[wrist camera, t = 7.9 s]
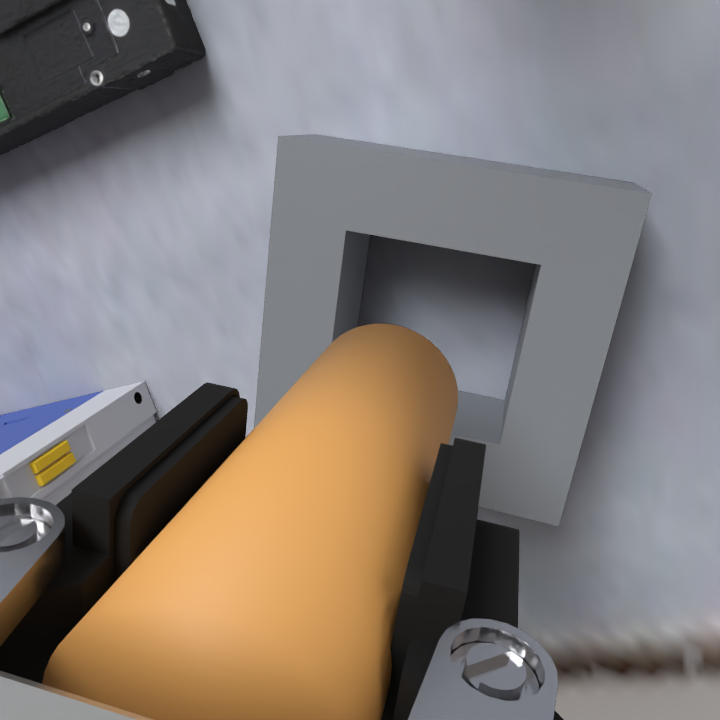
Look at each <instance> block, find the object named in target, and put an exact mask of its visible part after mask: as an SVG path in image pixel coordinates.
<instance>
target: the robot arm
mask: <svg viewBox="0 0 720 720" xmlns="http://www.w3.org/2000/svg"><path fill="white" fill-rule="evenodd" d="M247 410H248V404H247V400H246V399H243V398H240V396H239V392H238V390H237V389H234V388H230V387H225V386H221V385H216V384H212V383H205V384H203V385H202V386H201V387H200V388H198V389H197V390H196V391H195V392H193V393H192V394H191V395H190V396H188V397H187V398H186V399H185V400H183V401H182V402H181V403H180V404H178V405H177V406H176V407H175V408H173V409H172V410H171V411H170V412H168V413H167V414H166V415H165V416H163V417H162V418H161V419H160V420H158V421H157V422H156V423H155V424H153V425H152V426H151V427H149V428H148V429H147V430H146V431H144V432H143V433H142V434H141V435H139V436H138V437H137V438H136V439H134V440H133V441H132V442H131V443H129V444H128V445H127V446H126V447H124V448H123V449H122V450H121V451H119V452H118V453H117V454H116V455H114V456H113V457H112V458H111V459H109V460H108V461H107V462H106V463H104V464H103V465H102V466H101V467H99V468H98V469H97V470H95V471H94V472H93V473H92V474H90V475H89V476H88V477H87V478H85V479H84V480H83V481H82V482H80V483H79V484H78V485H77V486H75V487H74V488H73V489H72V492H71V493H70V494H69V495H68V496H66V497H65V498H64V499H63V500H61V501H60V502H59V503H58V504H56V505H54V504H52V503H50V502H48V501H44V500H41V499H37V498H26V497H15V498H3V499H0V720H154V719H151V718H148V717H144V716H141V715H138V714H135V713H132V712H129V711H126V710H123V709H119V708H116V707H113V706H110V705H107V704H104V703H101V702H97V701H94V700H91V699H88V698H85V697H82V696H78V695H75V694H72V693H69V692H66V691H63V690H60V689H56V688H53V687H50V686H47V685H44V684H42V682H43V677H44V672H45V669H46V667H47V664H48V662H49V659H50V657H51V656H52V654H53V653H54V651H55V649H56V648H57V646H58V645H59V644H60V643H61V641H62V640H63V639H64V638H65V637H66V636H67V635H68V634H69V633H70V632H71V630H72V629H73V628H74V627H75V626H76V625H77V624H78V623H79V622H80V620H81V619H82V618H83V617H84V616H85V615H86V614H87V613H88V612H89V611H90V609H91V608H92V607H93V606H94V605H95V604H96V603H97V602H98V601H99V599H100V598H101V597H102V596H103V595H104V594H105V593H106V592H107V591H108V590H109V588H110V587H111V586H112V585H113V584H114V583H115V582H116V581H117V580H118V578H119V577H120V576H121V575H122V574H123V573H124V572H125V571H126V570H127V569H128V567H129V566H130V565H131V564H132V563H133V562H134V561H135V560H136V559H137V557H138V556H139V555H140V554H141V553H142V552H143V551H144V550H145V549H146V548H147V546H148V545H149V544H150V543H151V542H152V541H153V540H154V539H155V538H156V536H157V535H158V534H159V533H160V532H161V531H162V530H163V529H164V528H165V526H166V525H167V524H168V523H169V522H170V521H171V520H172V519H173V518H174V517H175V515H176V514H177V513H178V512H179V511H180V510H181V509H182V508H183V507H184V505H185V504H186V503H187V502H188V501H189V500H190V499H191V498H192V497H193V496H194V494H195V493H196V492H197V491H198V490H199V489H200V488H201V487H202V486H203V484H204V483H205V482H206V481H207V480H208V479H209V478H210V477H211V476H212V475H213V473H214V472H215V471H216V470H217V469H218V468H219V467H220V466H221V465H222V463H223V462H224V461H225V460H226V459H227V458H228V457H229V456H230V455H231V454H232V452H233V451H234V450H235V449H236V448H237V447H238V446H239V445H240V444H241V442H242V441H243V440H244V439H245V435H246V422H247ZM485 451H486V444H482V443H477V442H473V441H468V440H464V439H459V438H455V439H454V443H453V446H452V445H448V444H443V443H441V444H440V448H439V451H438V455H437V458H436V462H435V466H434V469H433V473H432V477H431V480H430V484H429V488H428V491H427V495H426V499H425V502H424V506H423V510H422V513H421V517H420V521H419V524H418V528H417V532H416V535H415V539H414V543H413V546H412V550H411V553H410V557H409V561H408V565H407V568H406V573H405V577H404V581H403V586H402V591H401V595H400V601H399V606H398V611H397V616H396V622H395V627H394V632H393V637H392V643H391V648H390V649H391V661H392V670H391V680H390V685H389V689H388V693H387V697H386V701H385V706H384V710H383V714H382V718H381V720H563V719H562V718H561V717H560V715H559V714H558V713H557V712H555V704H556V697H557V689H558V677H557V669H556V667H555V665H554V663H553V661H552V659H551V656H550V655H549V654H548V653H547V652H546V650H545V649H544V648H543V647H542V646H541V645H540V643H539V642H537V641H536V640H535V639H533V638H532V637H531V636H529V635H528V634H527V633H525V632H524V631H522V630H520V629H518V583H519V530H518V529H514V528H510V527H506V526H501V525H497V524H493V523H489V522H485V521H481V520H477V513H478V505H479V497H480V490H481V482H482V474H483V466H484V458H485Z"/></svg>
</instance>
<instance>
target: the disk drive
mask: <svg viewBox="0 0 720 720" xmlns="http://www.w3.org/2000/svg"><path fill="white" fill-rule="evenodd" d="M204 55H205V48H204V45H203V43H202V40H201V38H200V35H199V32H198V30H197V27H196V24H195V22H194V21H193V18H192V14H191V11H190V9H189V7H188V5H187V2H186V0H0V155H2V154H4V153H6V152H9V151H10V150H12V149H14V148H17V147H19V146H20V145H23V144H25V143H27V142H30V141H31V140H33V139H35V138H38V137H40V136H41V135H43V134H46V133H48V132H50V131H52V130H54V129H57V128H58V127H61V126H63V125H65V124H66V123H68V122H71V121H73V120H74V119H76V118H78V117H80V116H83V115H84V114H86V113H89V112H91V111H93V110H95V109H97V108H99V107H101V106H103V105H105V104H108V103H110V102H112V101H114V100H116V99H118V98H121V97H123V96H124V95H126V94H128V93H131V92H133V91H135V90H136V89H143V88H145V87H146V86H148V85H151V84H154V83H156V82H158V81H159V80H161V79H163V78H165V77H168V76H170V75H172V74H173V73H174V71H175V70H178V69H180V68H183V67H185V66H187V65H189V64H191V62H193V61H198V60H200V59H202V58H203V57H204Z"/></svg>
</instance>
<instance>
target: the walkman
mask: <svg viewBox="0 0 720 720" xmlns="http://www.w3.org/2000/svg"><path fill="white" fill-rule="evenodd" d="M156 412H157V411H156V409H155V406H154V404H153V401H152V399H151V396H150V394H149V391H148V389H147V386H146V384H145V381H143V382H139V383H134V384H130V385H126V386H122V387H117V388H113V389H109V390H105V391H101V392H97V393H93V394H88V395H84V396H80V397H76V398H71V399H67V400H63V401H59V402H55V403H50V404H46V405H42V406H38V407H33V408H29V409H25V410H21V411H17V412H12V413H8V414H4V415H0V499H3V498H15V497H26V498H37V499H41V500H44V501H48V502H50V503H52V504H54V505H56V504H58V503H59V502H60V501H61V500H63V499H64V498H65V497H66V496H68V495H69V494H70V493H71V492H72V489H73V488H74V487H75V486H77V485H78V484H79V483H80V482H82V481H83V480H84V479H85V478H87V477H88V476H89V475H90V474H92V473H93V472H94V471H95V470H97V469H98V468H99V467H101V466H102V465H103V464H104V463H106V462H107V461H108V460H109V459H111V458H112V457H113V456H114V455H116V454H117V453H118V452H119V451H121V450H122V449H123V448H124V447H126V446H127V445H128V444H129V443H131V442H132V441H133V440H134V439H136V438H137V437H138V436H139V435H141V434H142V433H143V432H144V431H146V430H147V429H148V428H149V427H151V426H152V425H153V424H155V423H156V420H155V417H154V415H153V414H155V413H156Z"/></svg>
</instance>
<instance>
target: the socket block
mask: <svg viewBox="0 0 720 720" xmlns="http://www.w3.org/2000/svg"><path fill="white" fill-rule="evenodd" d="M651 195H652V194H651V193H650V192H648V191H646V190H645V189H643V188H641V187H640V186H638V185H636V184H635V183H632V182H625V181H618V180H612V179H605V178H599V177H592V176H586V175H579V174H572V173H566V172H559V171H553V170H546V169H540V168H533V167H526V166H520V165H513V164H507V163H500V162H494V161H487V160H480V159H474V158H467V157H461V156H454V155H447V154H441V153H434V152H428V151H421V150H415V149H408V148H401V147H395V146H388V145H382V144H375V143H369V142H362V141H355V140H349V139H342V138H336V137H329V136H323V135H316V134H315V135H293V136H278V145H277V157H276V169H275V181H274V193H273V205H272V217H271V229H270V241H269V253H268V265H267V277H266V289H265V301H264V313H263V325H262V337H261V349H260V361H259V373H258V385H257V397H256V409H255V421H254V428H255V427H256V426H257V425H258V424H259V423H260V421H261V420H262V419H263V418H264V417H265V416H266V415H267V414H268V413H269V411H270V410H271V409H272V408H273V407H274V406H275V405H276V404H277V403H278V402H279V400H280V399H281V398H282V397H283V396H284V395H285V394H286V393H287V392H288V390H289V389H290V388H291V387H292V386H293V385H294V384H295V383H296V382H297V381H298V379H299V378H300V377H301V376H302V375H303V374H304V373H305V372H306V371H307V369H308V368H309V367H310V366H311V365H312V364H313V363H314V362H315V361H316V360H317V358H318V357H319V356H320V355H321V354H322V353H323V352H324V351H325V350H326V348H327V347H328V346H329V345H330V344H331V343H332V342H333V341H334V340H335V339H337V338H338V337H339V336H340V335H342V334H344V333H345V332H347V331H349V330H351V329H354V328H356V327H358V322H359V314H360V307H361V300H362V292H363V285H364V278H365V270H366V263H367V256H368V248H369V241H370V235H375V236H381V237H387V238H392V239H398V240H404V241H409V242H415V243H421V244H426V245H432V246H437V247H443V248H449V249H454V250H460V251H466V252H471V253H477V254H483V255H488V256H494V257H499V258H505V259H511V260H516V261H522V262H528V263H533V264H536V266H535V271H534V275H533V279H532V284H531V288H530V293H529V297H528V301H527V306H526V310H525V314H524V319H523V323H522V328H521V332H520V336H519V341H518V345H517V349H516V354H515V358H514V363H513V367H512V371H511V376H510V380H509V385H508V389H507V393H506V398H505V401H504V400H499V399H495V398H490V397H485V396H481V395H476V394H471V393H467V392H462V391H458V406H457V412H456V416H455V420H454V424H453V428H452V432H451V437H450V441H449V445H452V446H453V443H454V439H455V438H459V439H464V440H468V441H473V442H477V443H482V444H486V451H485V458H484V466H483V474H482V482H481V490H480V497H479V505H478V507H481V508H485V509H489V510H493V511H498V512H502V513H506V514H510V515H514V516H518V517H522V518H526V519H530V520H534V521H538V522H542V523H547V524H551V525H555V526H559V523H560V520H561V516H562V513H563V509H564V505H565V502H566V498H567V495H568V491H569V488H570V484H571V480H572V477H573V473H574V470H575V466H576V463H577V459H578V455H579V452H580V448H581V445H582V441H583V438H584V434H585V430H586V427H587V423H588V420H589V416H590V413H591V409H592V405H593V402H594V398H595V395H596V391H597V388H598V384H599V380H600V377H601V373H602V370H603V366H604V363H605V359H606V355H607V352H608V348H609V345H610V341H611V338H612V334H613V330H614V327H615V323H616V320H617V316H618V313H619V309H620V306H621V302H622V298H623V295H624V291H625V288H626V284H627V281H628V277H629V273H630V270H631V266H632V263H633V259H634V256H635V252H636V248H637V245H638V241H639V238H640V234H641V231H642V227H643V223H644V220H645V216H646V213H647V209H648V206H649V202H650V198H651Z"/></svg>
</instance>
